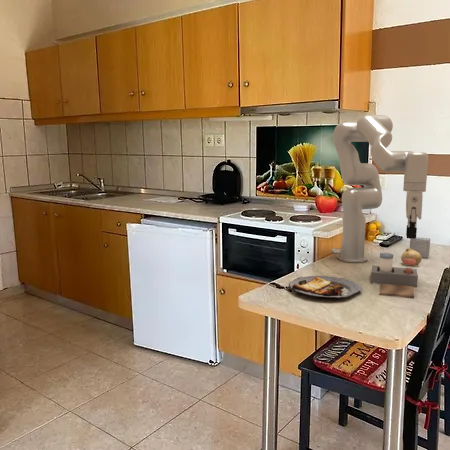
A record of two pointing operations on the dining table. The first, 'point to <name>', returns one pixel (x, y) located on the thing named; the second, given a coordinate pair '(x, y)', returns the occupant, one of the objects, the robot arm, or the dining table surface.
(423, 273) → the dining table surface
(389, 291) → the pad
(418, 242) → the medicine box
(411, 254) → the onion
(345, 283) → the food plate
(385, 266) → the cylinder
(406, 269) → the red round-topped peg
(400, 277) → the housing
